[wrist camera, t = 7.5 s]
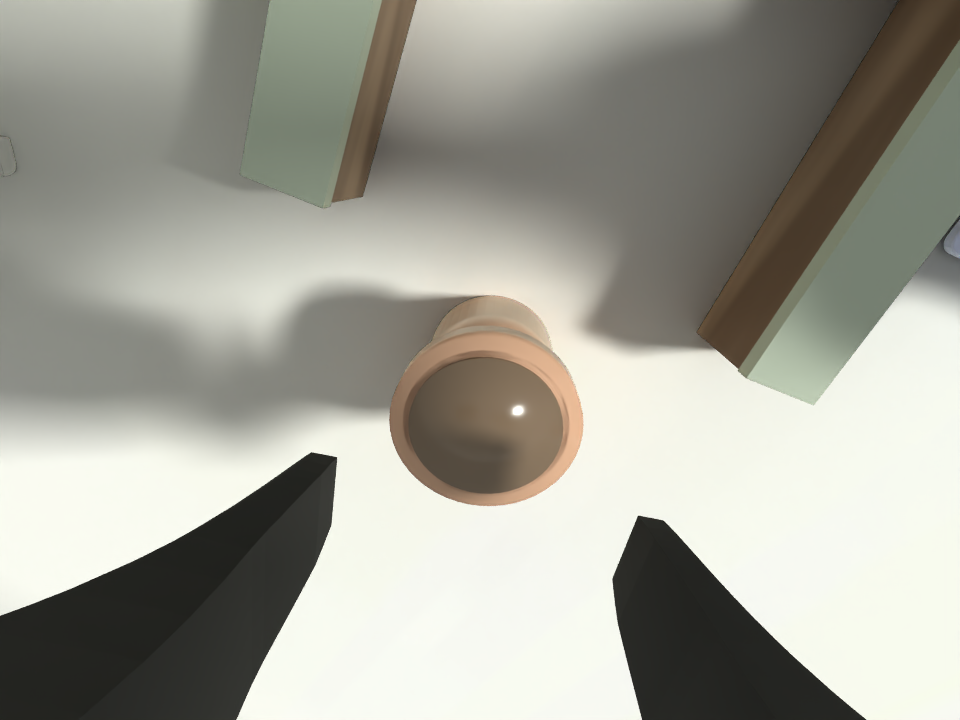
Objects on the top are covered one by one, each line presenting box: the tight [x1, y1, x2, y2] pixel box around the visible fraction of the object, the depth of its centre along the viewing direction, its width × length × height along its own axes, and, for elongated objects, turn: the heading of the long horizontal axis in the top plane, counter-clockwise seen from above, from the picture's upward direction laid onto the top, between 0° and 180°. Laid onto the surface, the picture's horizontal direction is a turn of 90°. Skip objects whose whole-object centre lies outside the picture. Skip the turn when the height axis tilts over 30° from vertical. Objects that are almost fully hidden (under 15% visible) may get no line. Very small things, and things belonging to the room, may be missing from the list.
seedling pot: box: [389, 296, 583, 506], centre depth 17 cm, size 6×6×6 cm
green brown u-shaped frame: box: [240, 0, 960, 405], centre depth 13 cm, size 18×14×5 cm
